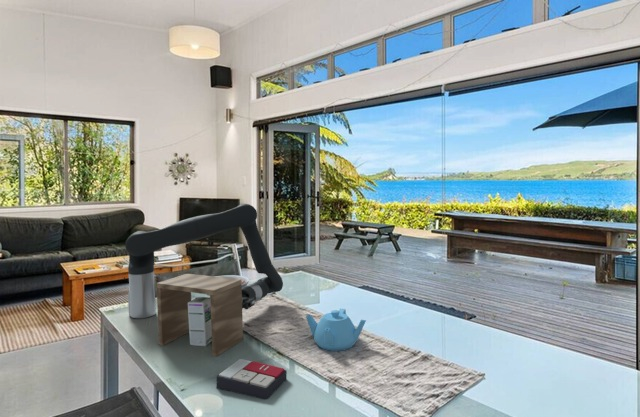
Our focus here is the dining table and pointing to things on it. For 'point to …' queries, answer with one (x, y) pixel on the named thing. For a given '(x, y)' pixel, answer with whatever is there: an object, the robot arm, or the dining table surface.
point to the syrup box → (200, 321)
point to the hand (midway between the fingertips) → (222, 307)
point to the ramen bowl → (243, 279)
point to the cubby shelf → (223, 308)
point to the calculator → (251, 378)
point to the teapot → (335, 330)
